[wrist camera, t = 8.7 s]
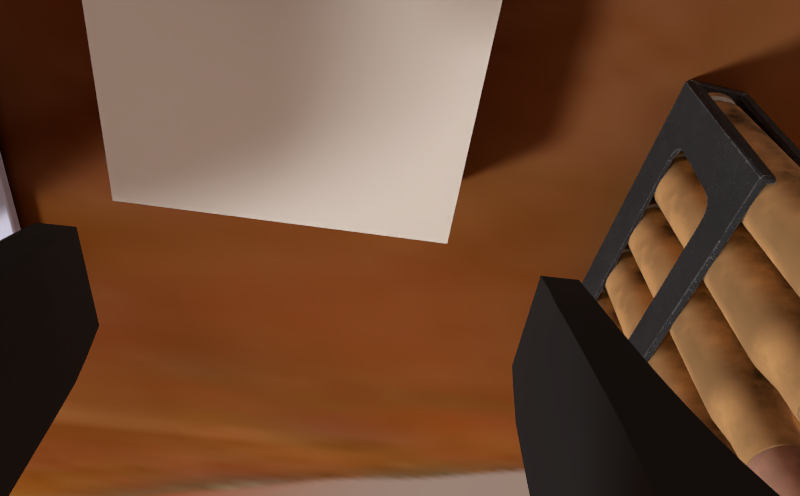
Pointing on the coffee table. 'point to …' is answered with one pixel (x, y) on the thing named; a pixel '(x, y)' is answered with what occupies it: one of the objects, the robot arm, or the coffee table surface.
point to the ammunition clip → (716, 274)
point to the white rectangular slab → (293, 107)
